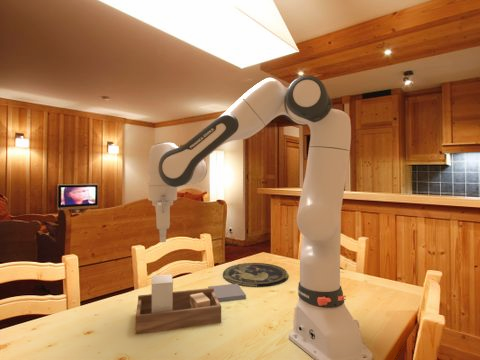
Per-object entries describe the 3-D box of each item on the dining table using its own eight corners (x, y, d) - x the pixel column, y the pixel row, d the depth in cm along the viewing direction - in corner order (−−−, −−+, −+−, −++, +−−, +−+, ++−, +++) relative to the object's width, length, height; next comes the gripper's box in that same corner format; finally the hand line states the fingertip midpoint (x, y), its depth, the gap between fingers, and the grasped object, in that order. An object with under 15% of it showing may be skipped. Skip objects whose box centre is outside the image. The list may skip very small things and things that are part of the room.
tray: (221, 322, 90) (221, 302, 90) (135, 334, 83) (135, 313, 83) (213, 304, 102) (213, 287, 102) (138, 313, 96) (138, 295, 95)
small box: (173, 325, 88) (173, 282, 88) (151, 327, 87) (151, 284, 87) (172, 313, 96) (172, 273, 96) (152, 315, 94) (152, 275, 94)
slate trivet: (245, 298, 107) (245, 294, 107) (213, 302, 104) (213, 298, 104) (237, 287, 119) (237, 283, 119) (208, 290, 116) (208, 286, 116)
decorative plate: (241, 259, 154) (296, 267, 140) (241, 263, 154) (296, 271, 140) (209, 277, 127) (274, 288, 114) (209, 281, 127) (274, 293, 114)
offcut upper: (210, 309, 93) (210, 300, 93) (197, 312, 91) (197, 302, 91) (202, 301, 99) (202, 292, 99) (189, 303, 97) (189, 294, 97)
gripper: (174, 196, 82) (174, 245, 82) (171, 192, 102) (171, 232, 102) (151, 196, 80) (151, 246, 81) (152, 192, 100) (152, 233, 100)
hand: (162, 238), depth 91 cm, fingers open, 8 cm apart
